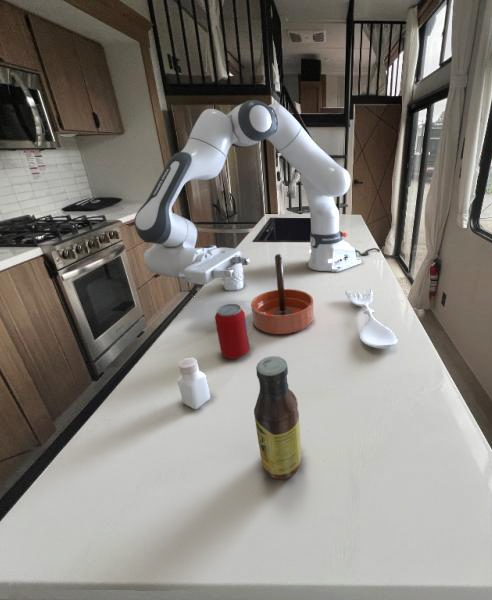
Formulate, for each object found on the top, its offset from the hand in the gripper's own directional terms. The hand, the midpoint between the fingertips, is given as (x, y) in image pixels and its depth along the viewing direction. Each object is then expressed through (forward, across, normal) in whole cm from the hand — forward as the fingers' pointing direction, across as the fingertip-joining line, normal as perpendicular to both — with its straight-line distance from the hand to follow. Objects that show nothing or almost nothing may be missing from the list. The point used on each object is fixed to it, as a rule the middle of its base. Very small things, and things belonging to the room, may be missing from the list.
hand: (240, 267), depth 89 cm
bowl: (+12, 0, +15) cm, 19 cm away
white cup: (-15, +19, +16) cm, 28 cm away
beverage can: (+6, -18, +16) cm, 24 cm away
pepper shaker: (+7, -35, +15) cm, 39 cm away
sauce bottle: (+28, -44, +16) cm, 55 cm away
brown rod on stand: (+12, 0, +14) cm, 19 cm away
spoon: (+35, +5, +16) cm, 39 cm away
